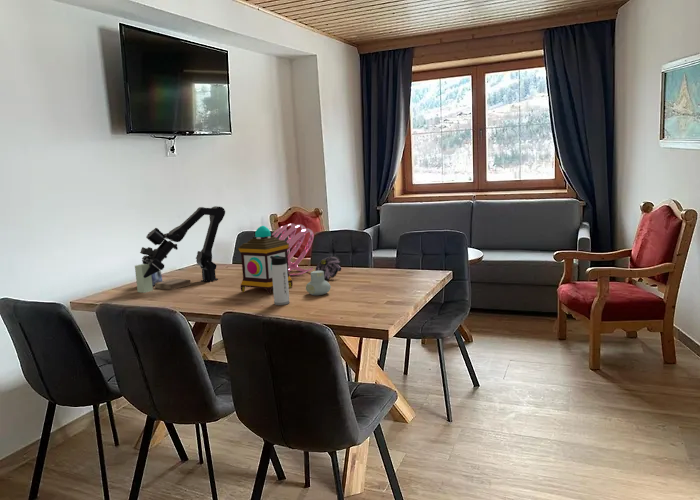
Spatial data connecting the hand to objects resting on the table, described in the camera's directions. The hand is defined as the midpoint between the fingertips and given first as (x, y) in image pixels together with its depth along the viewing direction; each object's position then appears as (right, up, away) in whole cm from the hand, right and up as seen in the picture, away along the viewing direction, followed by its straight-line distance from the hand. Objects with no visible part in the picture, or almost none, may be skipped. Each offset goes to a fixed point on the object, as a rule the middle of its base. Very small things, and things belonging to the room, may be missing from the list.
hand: (141, 276), depth 270 cm
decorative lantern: (+62, -6, -10) cm, 63 cm away
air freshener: (+87, -7, -25) cm, 91 cm away
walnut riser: (+12, -6, +10) cm, 17 cm away
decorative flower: (+90, -2, +11) cm, 90 cm away
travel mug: (+72, -10, -39) cm, 83 cm away
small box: (0, -5, +16) cm, 17 cm away
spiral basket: (+70, 0, +28) cm, 75 cm away
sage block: (+1, -7, +2) cm, 8 cm away
